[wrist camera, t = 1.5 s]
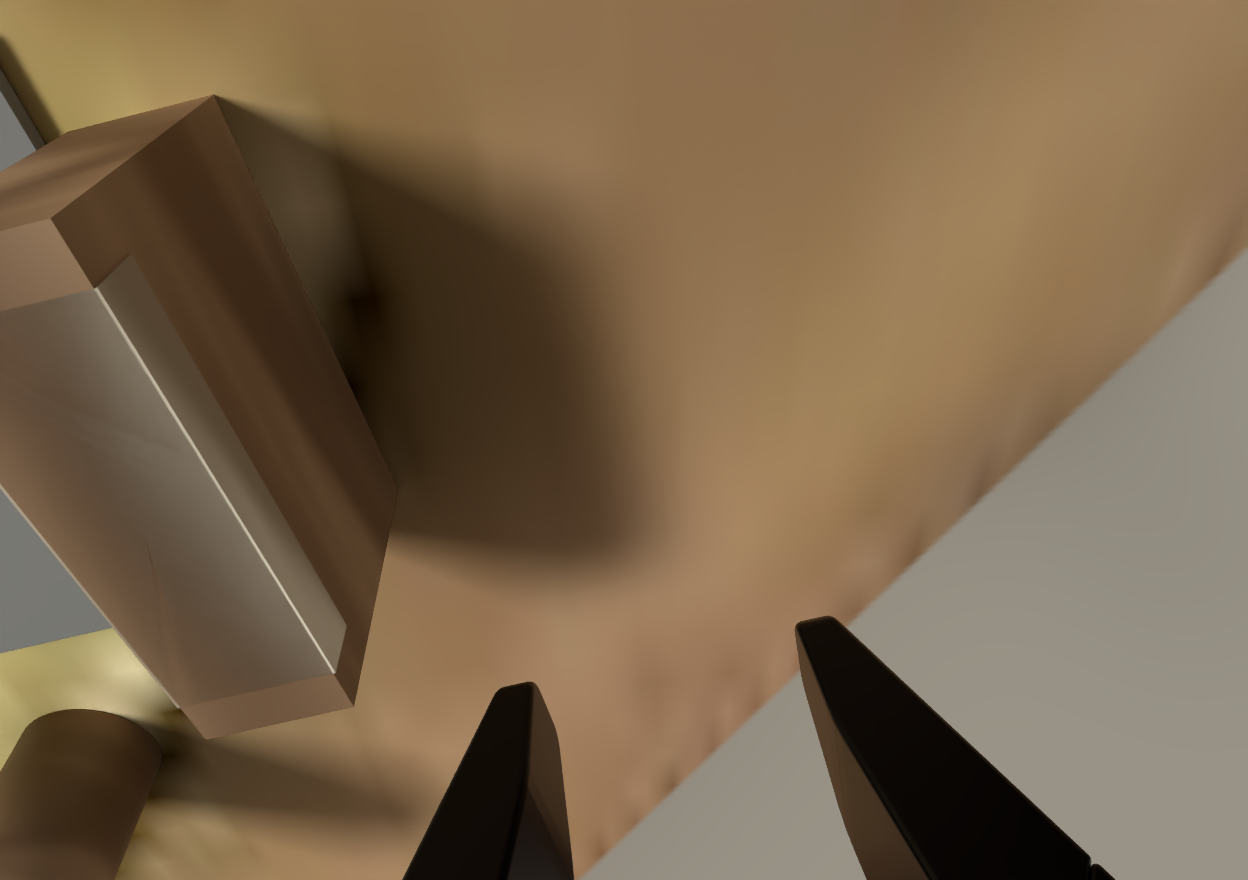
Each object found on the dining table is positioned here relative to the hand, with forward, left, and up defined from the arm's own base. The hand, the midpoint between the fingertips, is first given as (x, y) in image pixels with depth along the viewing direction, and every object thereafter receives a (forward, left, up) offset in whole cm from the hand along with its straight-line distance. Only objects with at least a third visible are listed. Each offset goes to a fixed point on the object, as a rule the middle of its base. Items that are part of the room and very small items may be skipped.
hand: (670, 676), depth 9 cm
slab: (+8, 0, -12) cm, 15 cm away
